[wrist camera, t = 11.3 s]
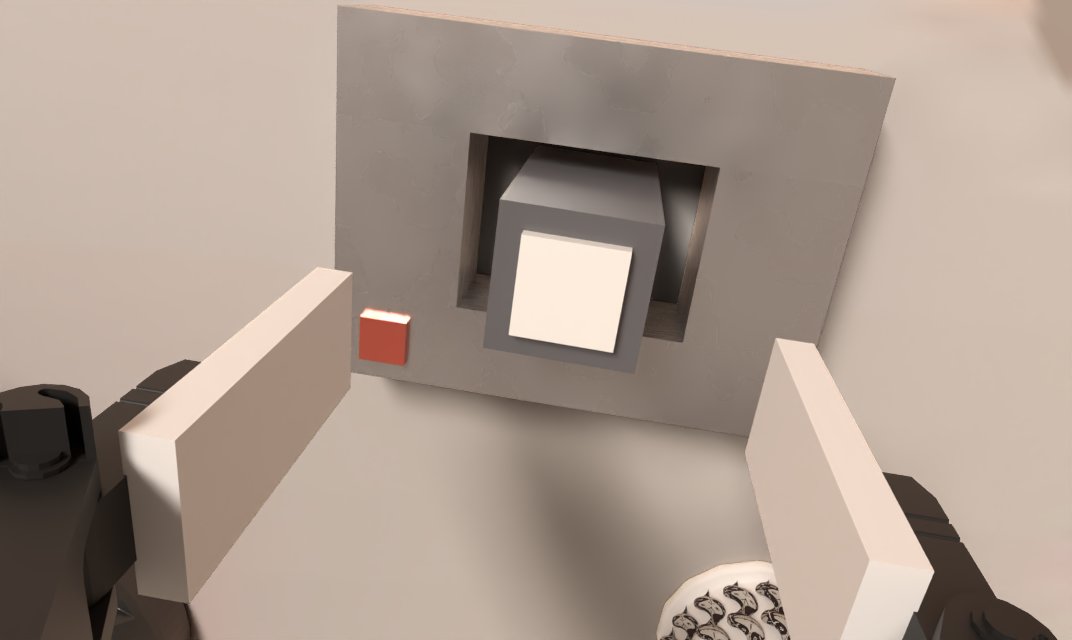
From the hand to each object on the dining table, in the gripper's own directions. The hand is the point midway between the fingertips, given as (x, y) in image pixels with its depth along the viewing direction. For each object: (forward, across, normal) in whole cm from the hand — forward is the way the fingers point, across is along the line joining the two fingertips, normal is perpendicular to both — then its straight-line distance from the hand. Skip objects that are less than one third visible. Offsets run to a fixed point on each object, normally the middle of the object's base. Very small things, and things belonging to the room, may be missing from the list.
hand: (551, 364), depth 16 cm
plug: (+12, 0, 0) cm, 12 cm away
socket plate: (+12, 0, 0) cm, 12 cm away
